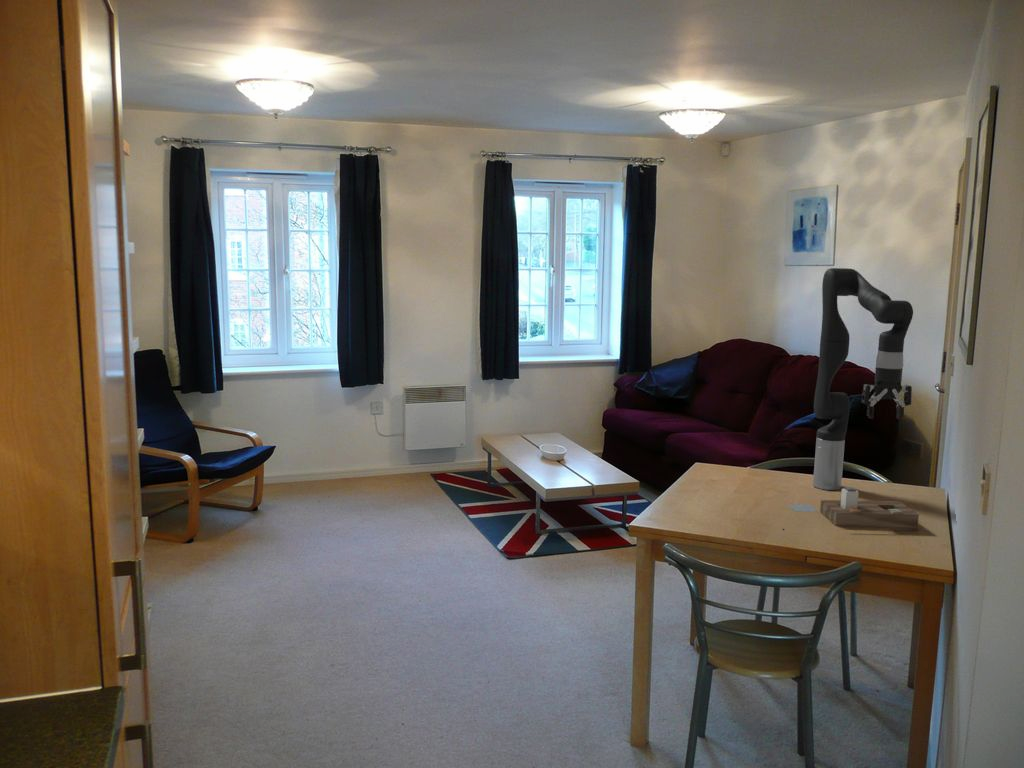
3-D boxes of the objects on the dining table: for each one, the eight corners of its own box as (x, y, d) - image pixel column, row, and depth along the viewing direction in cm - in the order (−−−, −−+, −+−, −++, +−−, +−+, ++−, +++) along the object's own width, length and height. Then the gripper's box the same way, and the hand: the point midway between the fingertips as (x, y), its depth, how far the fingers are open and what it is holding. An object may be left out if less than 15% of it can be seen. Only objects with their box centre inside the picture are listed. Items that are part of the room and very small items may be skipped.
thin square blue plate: (788, 507, 270) (788, 504, 269) (810, 508, 270) (810, 505, 269) (794, 514, 263) (795, 511, 263) (817, 514, 263) (817, 511, 262)
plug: (839, 517, 257) (842, 486, 256) (851, 517, 257) (853, 486, 256) (844, 521, 254) (846, 489, 252) (856, 521, 254) (858, 490, 252)
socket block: (819, 515, 262) (821, 498, 261) (898, 517, 262) (899, 500, 261) (834, 529, 249) (836, 511, 248) (917, 530, 249) (918, 513, 248)
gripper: (907, 365, 262) (902, 416, 265) (860, 364, 262) (856, 415, 265) (918, 368, 255) (913, 421, 257) (870, 367, 255) (866, 420, 258)
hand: (884, 418), depth 261 cm, fingers open, 8 cm apart
